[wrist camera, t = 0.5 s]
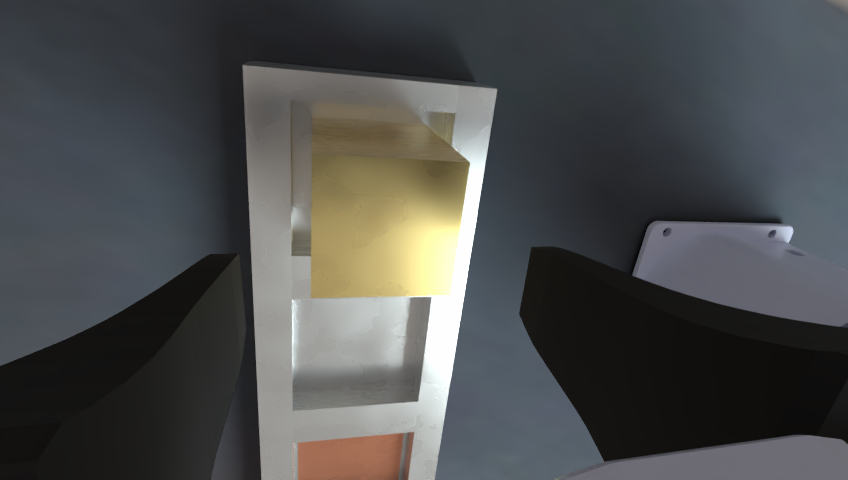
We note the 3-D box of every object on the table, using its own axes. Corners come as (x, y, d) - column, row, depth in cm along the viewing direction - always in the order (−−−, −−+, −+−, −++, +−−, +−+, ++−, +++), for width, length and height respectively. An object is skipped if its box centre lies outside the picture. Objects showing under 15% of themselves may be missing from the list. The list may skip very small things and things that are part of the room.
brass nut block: (425, 124, 19) (470, 162, 14) (414, 226, 21) (450, 295, 15) (312, 116, 18) (311, 153, 12) (311, 224, 20) (310, 298, 14)
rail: (476, 82, 20) (497, 88, 17) (419, 482, 29) (427, 520, 27) (251, 60, 17) (242, 65, 15) (268, 500, 27) (264, 543, 25)
